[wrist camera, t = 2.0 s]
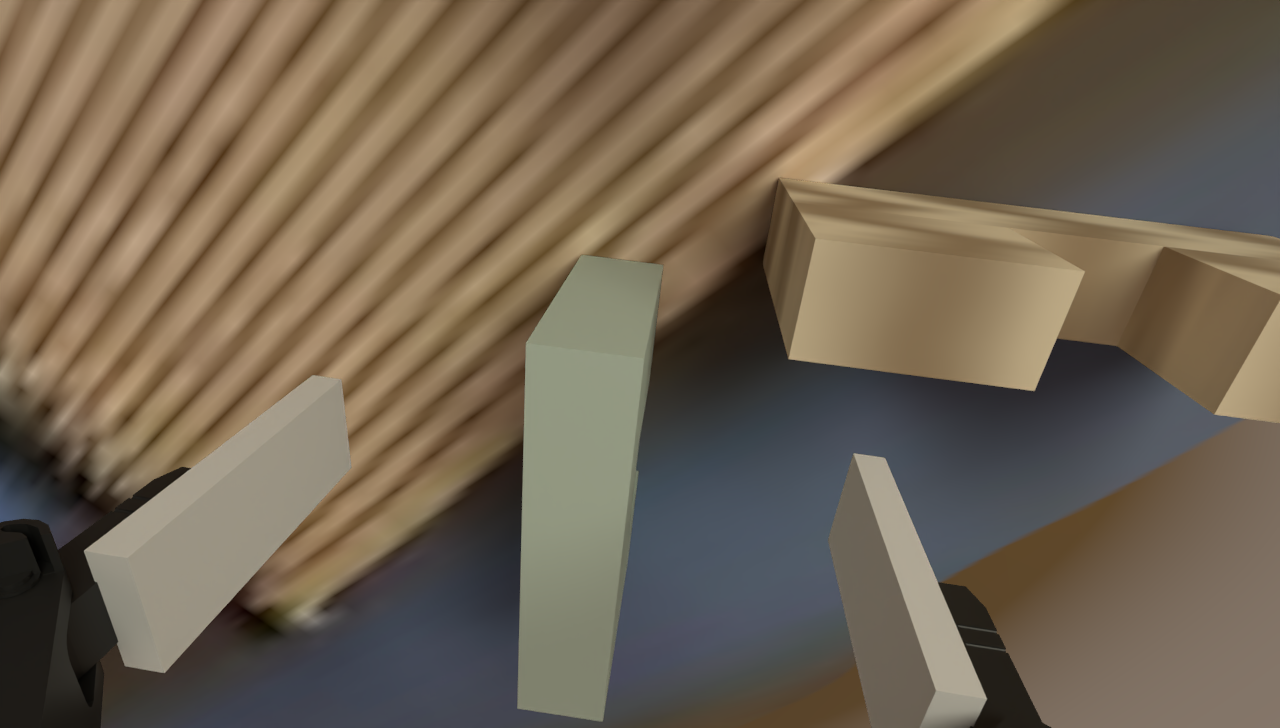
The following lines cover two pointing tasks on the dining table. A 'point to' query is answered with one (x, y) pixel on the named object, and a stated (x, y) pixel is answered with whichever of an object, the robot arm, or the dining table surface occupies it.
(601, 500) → the grey-green block
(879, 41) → the dining table surface
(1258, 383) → the u-shaped wooden block
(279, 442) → the robot arm
